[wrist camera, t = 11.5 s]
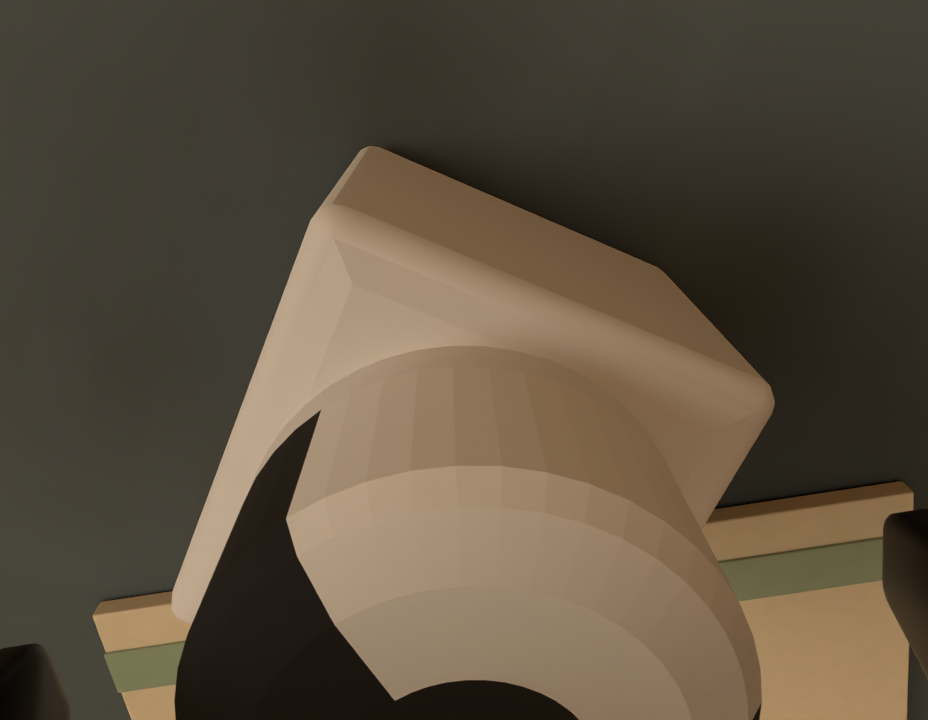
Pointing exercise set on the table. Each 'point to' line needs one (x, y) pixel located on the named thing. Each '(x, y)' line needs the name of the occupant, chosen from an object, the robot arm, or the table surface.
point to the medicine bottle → (472, 480)
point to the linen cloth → (752, 580)
